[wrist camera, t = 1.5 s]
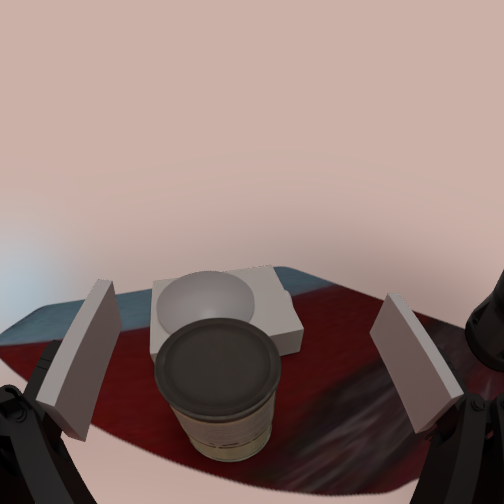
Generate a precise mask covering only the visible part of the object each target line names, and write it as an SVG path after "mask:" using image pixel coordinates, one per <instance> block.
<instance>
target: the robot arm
mask: <svg viewBox="0 0 504 504" xmlns="http://www.w3.org/2000/svg"><path fill="white" fill-rule="evenodd" d="M121 328H122V322H121V318H120V314H119V310H118V305H117V301H116V296H115V291H114V286H113V281H109V280H99V279H98V280H97V282H96V283H95V285H94V286H93V289H92V290H91V291H90V293H89V295H88V296H87V298H86V300H85V301H84V303H83V305H82V307H81V308H80V310H79V312H78V314H77V315H76V317H75V319H74V321H73V323H72V324H71V326H70V328H69V330H68V332H67V334H66V336H65V338H64V340H63V342H61V341H57V340H53V341H52V342H51V343H50V344H49V345H48V346H47V347H46V348H45V349H44V351H43V353H42V355H41V357H40V360H39V361H38V363H37V365H36V368H35V369H34V371H33V373H32V375H31V377H30V379H29V381H28V384H27V386H26V388H25V391H24V393H23V394H22V393H21V391H19V389H18V388H17V387H15V386H13V385H10V384H9V385H4V386H2V387H0V504H97V503H96V501H95V500H94V498H93V496H92V495H91V493H90V492H89V490H88V489H87V487H86V485H85V483H84V481H83V480H82V478H81V476H80V474H79V472H78V471H77V469H76V467H75V465H74V463H73V461H72V459H71V457H70V455H69V453H68V451H67V448H66V446H65V444H64V442H63V440H62V439H61V433H62V431H63V432H64V433H65V434H66V435H67V436H68V437H71V438H74V439H77V440H80V441H84V442H85V441H86V437H87V433H88V429H89V425H90V421H91V418H92V414H93V411H94V407H95V404H96V400H97V397H98V394H99V391H100V387H101V384H102V381H103V378H104V375H105V372H106V369H107V366H108V363H109V360H110V357H111V355H112V352H113V349H114V346H115V344H116V341H117V338H118V335H119V333H120V330H121ZM465 333H466V338H467V341H468V343H469V345H470V347H471V349H472V351H473V352H474V354H475V355H476V356H477V357H478V358H479V359H480V360H481V361H482V362H483V363H484V364H486V365H487V366H489V367H490V368H492V369H495V370H498V371H504V270H503V272H502V274H501V276H500V278H499V280H498V282H497V284H496V286H495V288H494V290H493V292H492V293H491V294H490V295H489V296H488V297H487V298H486V299H485V300H484V301H483V302H482V303H481V304H480V305H479V306H478V307H477V308H476V309H474V311H473V312H472V314H471V315H470V317H469V319H468V321H467V323H466V327H465ZM370 335H371V337H372V339H373V341H374V343H375V345H376V347H377V349H378V351H379V353H380V355H381V357H382V359H383V361H384V363H385V365H386V367H387V369H388V372H389V374H390V376H391V378H392V380H393V382H394V384H395V387H396V389H397V391H398V393H399V395H400V398H401V400H402V402H403V405H404V407H405V409H406V411H407V414H408V416H409V418H410V421H411V423H412V426H413V428H414V431H415V433H419V432H422V431H425V430H427V429H429V428H430V427H431V426H432V425H433V424H434V423H435V422H436V424H437V427H436V428H435V429H434V430H433V431H432V432H431V433H429V434H428V435H427V436H426V438H425V440H427V439H429V438H430V437H431V436H432V435H433V437H432V438H431V439H430V440H429V441H430V442H431V444H430V447H429V451H428V454H427V457H426V461H425V464H424V467H423V470H422V473H421V475H420V478H419V481H418V484H417V486H416V489H415V491H414V494H413V496H412V499H411V501H410V504H504V393H501V394H499V395H498V396H497V397H496V398H495V399H494V400H491V401H484V399H483V398H482V397H481V396H480V395H478V394H474V393H473V394H470V392H469V391H468V389H467V387H466V386H465V384H464V382H463V380H462V379H461V377H460V375H459V374H458V372H457V370H455V367H454V366H453V364H451V361H450V359H449V357H448V356H447V354H446V353H445V352H444V351H443V350H442V349H440V348H439V347H436V346H435V345H434V343H433V342H432V340H431V338H430V337H429V335H428V334H427V332H426V331H425V329H424V328H423V326H422V325H421V323H420V322H419V321H418V319H417V318H416V316H415V315H414V313H413V312H412V310H411V309H410V308H409V306H408V305H407V303H406V302H405V301H404V299H403V298H402V297H401V295H400V294H399V293H388V294H387V296H386V299H385V301H384V303H383V305H382V308H381V310H380V312H379V314H378V316H377V319H376V321H375V323H374V325H373V327H372V329H371V331H370ZM492 430H493V436H492V437H491V438H490V439H488V437H487V435H488V434H489V433H490V432H491V431H492Z"/></svg>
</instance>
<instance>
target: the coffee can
mask: <svg viewBox="0 0 504 504" xmlns="http://www.w3.org/2000/svg"><path fill="white" fill-rule="evenodd" d="M154 374H155V380H156V384H157V386H158V389H159V390H160V392H161V394H162V396H163V397H164V398H165V400H166V401H167V402H168V404H169V406H170V407H171V409H172V411H173V413H174V414H175V416H176V417H177V419H178V421H179V422H180V424H181V426H182V427H183V429H184V431H185V432H186V434H187V435H188V437H189V439H190V441H191V443H192V444H193V445H194V447H195V448H196V449H197V450H198V451H199V452H201V453H202V454H203V455H205V456H207V457H209V458H211V459H214V460H217V461H223V462H235V461H241V460H244V459H247V458H249V457H251V456H253V455H255V454H256V453H258V452H259V451H260V450H261V449H262V448H263V447H264V446H265V444H266V443H267V441H268V440H269V437H270V434H271V430H272V419H273V413H274V406H275V399H276V392H277V386H278V383H279V380H280V375H281V359H280V355H279V352H278V349H277V347H276V345H275V344H274V342H273V341H272V339H271V338H270V337H269V336H268V335H267V334H266V333H265V332H263V331H262V330H261V329H259V328H258V327H256V326H254V325H252V324H250V323H248V322H245V321H242V320H238V319H232V318H207V319H202V320H198V321H195V322H192V323H189V324H187V325H185V326H183V327H182V328H180V329H178V330H177V331H176V332H174V333H173V334H171V335H170V336H169V337H168V338H167V339H166V341H165V342H164V343H163V344H162V346H161V347H160V349H159V351H158V353H157V356H156V359H155V365H154Z"/></svg>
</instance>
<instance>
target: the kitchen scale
mask: <svg viewBox="0 0 504 504" xmlns="http://www.w3.org/2000/svg"><path fill="white" fill-rule="evenodd" d="M207 318H232V319H238V320H242V321H245V322H248V323H250V324H252V325H254V326H256V327H258V328H259V329H261V330H262V331H263V332H265V333H266V334H267V335H268V336H269V337H270V338H271V339H272V341H273V342H274V344H275V345H276V347H277V349H278V352H279V355H280V356H282V355H287V354H291V353H295V352H299V351H300V346H301V341H302V336H303V331H304V328H303V326H302V324H301V322H300V320H299V318H298V316H297V314H296V312H295V310H294V308H293V304H292V300H291V296H290V294H289V292H288V291H284V289H283V287H282V285H281V283H280V281H279V279H278V277H277V275H276V273H275V271H274V269H273V267H272V266H271V265H267V266H260V267H253V268H247V269H240V270H232V271H225V272H218V271H203V272H196V273H192V274H188V275H185V276H183V277H180V278H174V279H166V280H159V281H153V288H152V305H151V328H150V355H151V357H152V359H153V362H154V364H155V359H156V356H157V353H158V351H159V349H160V347H161V346H162V344H163V343H164V342H165V341H166V339H167V338H168V337H169V336H170V335H171V334H173V333H174V332H176V331H177V330H178V329H180V328H182V327H183V326H185V325H187V324H189V323H192V322H195V321H198V320H202V319H207Z"/></svg>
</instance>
